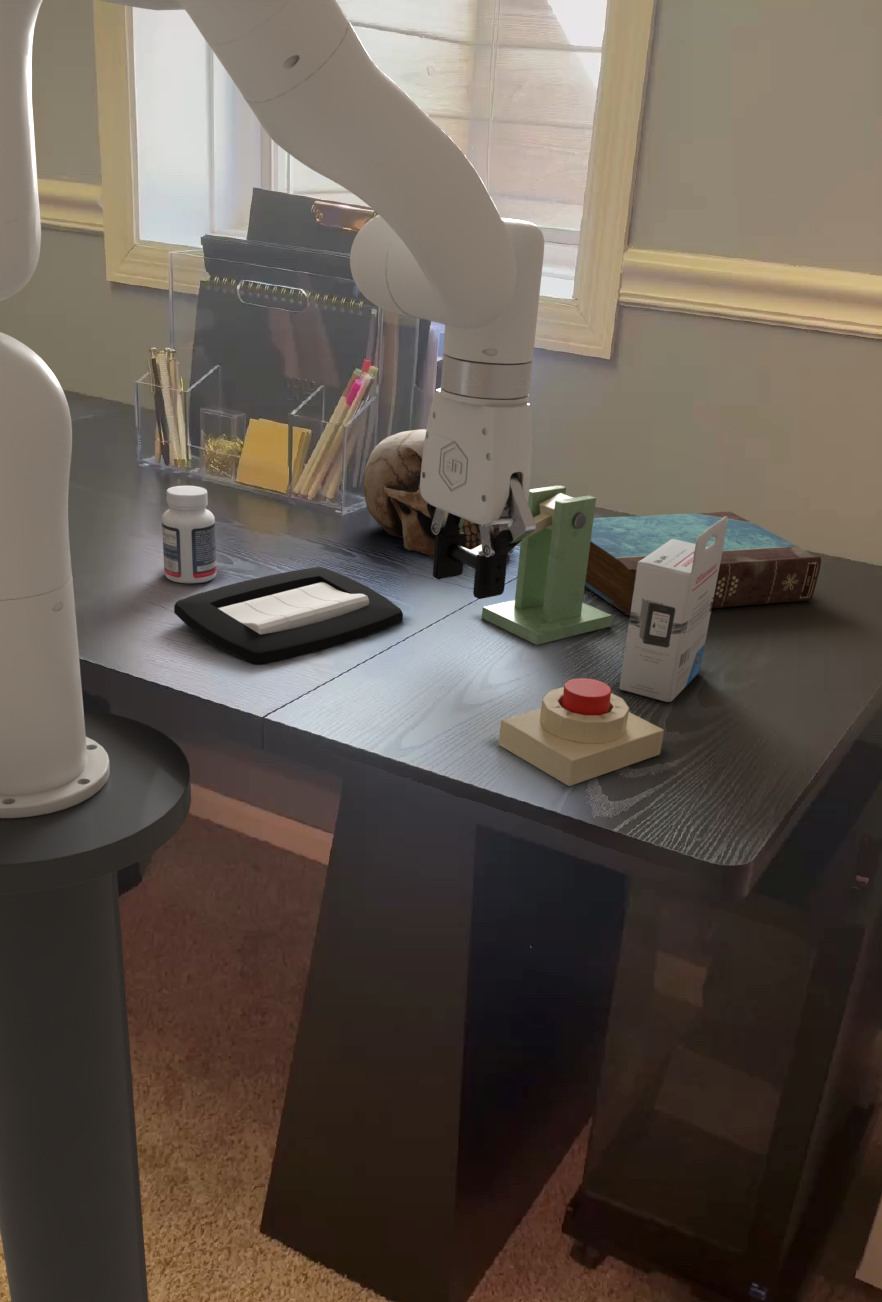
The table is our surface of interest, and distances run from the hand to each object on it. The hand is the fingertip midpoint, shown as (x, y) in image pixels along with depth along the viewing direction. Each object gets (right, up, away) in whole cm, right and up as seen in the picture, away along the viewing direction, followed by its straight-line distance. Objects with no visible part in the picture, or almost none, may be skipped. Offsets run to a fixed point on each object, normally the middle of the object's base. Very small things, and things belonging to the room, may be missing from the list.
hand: (467, 584), depth 109 cm
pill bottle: (-28, +3, +14) cm, 32 cm away
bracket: (+8, -2, +9) cm, 12 cm away
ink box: (+17, -9, -2) cm, 20 cm away
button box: (+8, -16, -16) cm, 24 cm away
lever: (+5, +4, +2) cm, 7 cm away
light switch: (-17, -3, +4) cm, 18 cm away
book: (+24, +4, +23) cm, 33 cm away
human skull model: (-3, +10, +30) cm, 32 cm away
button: (+9, -12, -17) cm, 23 cm away
